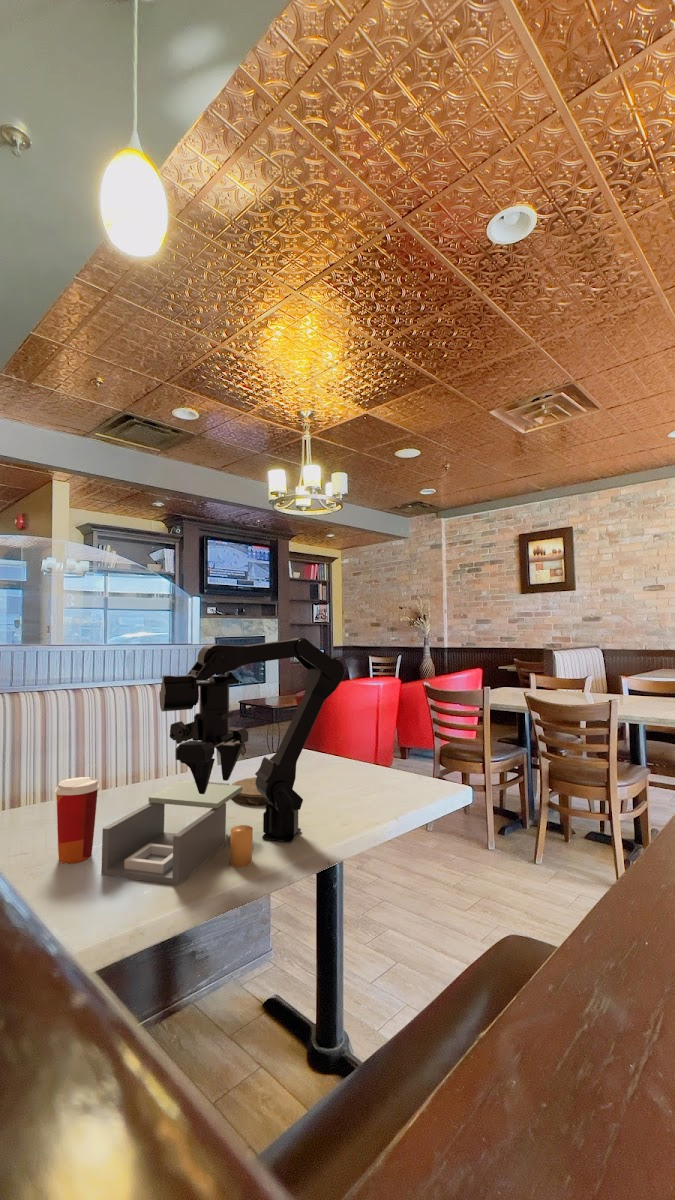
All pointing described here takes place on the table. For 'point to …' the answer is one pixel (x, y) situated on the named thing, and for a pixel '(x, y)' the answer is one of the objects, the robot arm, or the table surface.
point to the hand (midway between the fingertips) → (214, 786)
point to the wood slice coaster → (249, 793)
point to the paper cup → (76, 818)
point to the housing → (160, 845)
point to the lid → (196, 794)
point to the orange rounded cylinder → (241, 846)
